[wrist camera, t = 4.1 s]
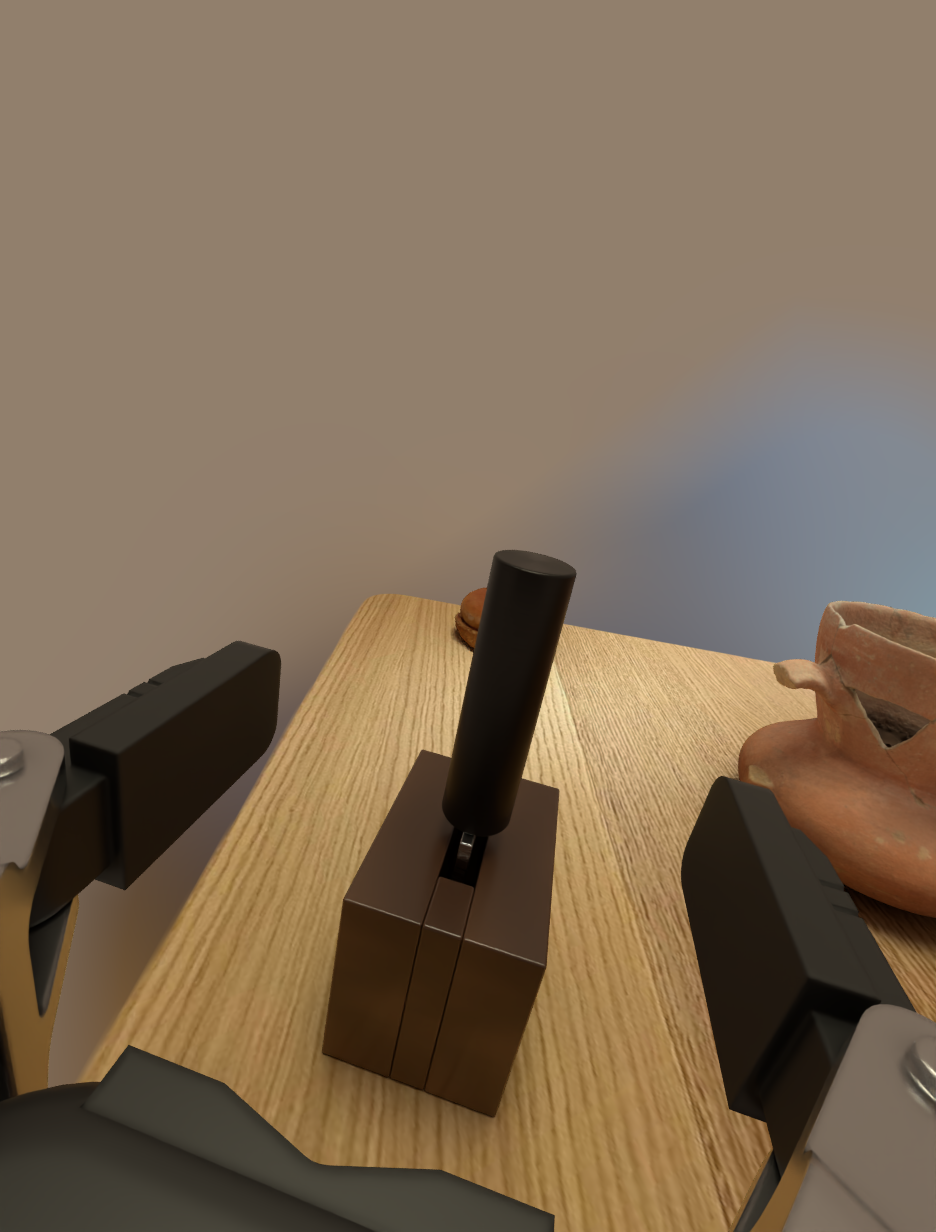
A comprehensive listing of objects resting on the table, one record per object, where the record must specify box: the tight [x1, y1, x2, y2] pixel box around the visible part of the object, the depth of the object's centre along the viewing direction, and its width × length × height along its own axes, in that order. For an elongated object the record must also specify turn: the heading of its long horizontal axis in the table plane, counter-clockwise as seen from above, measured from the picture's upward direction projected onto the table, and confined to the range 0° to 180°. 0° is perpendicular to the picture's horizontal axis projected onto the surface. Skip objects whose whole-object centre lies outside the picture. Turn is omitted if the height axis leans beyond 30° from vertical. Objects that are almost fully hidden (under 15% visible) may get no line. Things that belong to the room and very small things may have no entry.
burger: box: [455, 588, 487, 648], centre depth 53 cm, size 10×9×5 cm
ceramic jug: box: [738, 601, 936, 918], centre depth 31 cm, size 18×14×14 cm
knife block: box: [322, 750, 559, 1117], centre depth 20 cm, size 6×8×7 cm
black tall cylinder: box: [442, 550, 576, 884], centre depth 18 cm, size 2×3×17 cm
